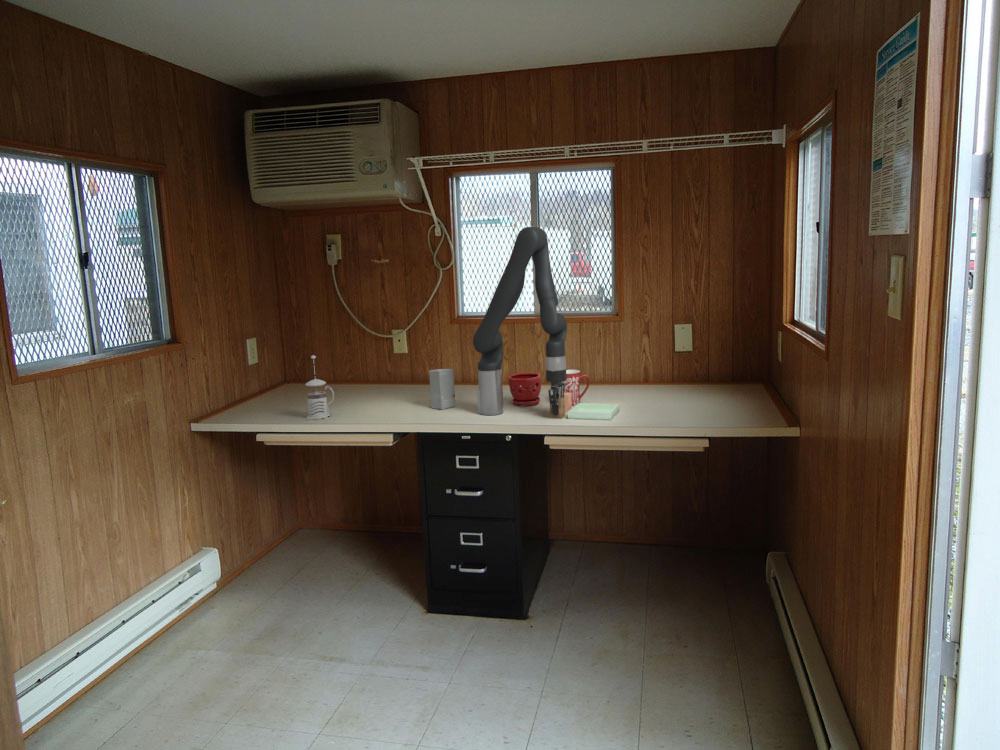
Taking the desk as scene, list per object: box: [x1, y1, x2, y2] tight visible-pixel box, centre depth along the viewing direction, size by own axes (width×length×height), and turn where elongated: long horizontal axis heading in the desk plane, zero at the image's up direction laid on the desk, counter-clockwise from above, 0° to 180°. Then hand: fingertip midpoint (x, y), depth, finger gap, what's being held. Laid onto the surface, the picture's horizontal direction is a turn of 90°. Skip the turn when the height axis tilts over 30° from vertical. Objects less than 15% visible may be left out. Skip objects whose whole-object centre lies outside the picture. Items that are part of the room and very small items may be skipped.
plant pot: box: [508, 372, 542, 407], centre depth 297 cm, size 13×13×12 cm
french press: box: [305, 354, 335, 418], centre depth 290 cm, size 10×12×25 cm
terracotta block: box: [564, 393, 573, 414], centre depth 280 cm, size 4×4×7 cm
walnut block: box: [549, 398, 566, 420], centre depth 271 cm, size 4×4×7 cm
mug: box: [562, 369, 591, 407], centre depth 291 cm, size 13×9×14 cm
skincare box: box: [428, 368, 456, 410], centre depth 298 cm, size 8×7×16 cm
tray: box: [567, 402, 620, 421], centre depth 272 cm, size 16×16×3 cm
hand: (557, 413), depth 271 cm, fingers closed on walnut block, 4 cm apart
